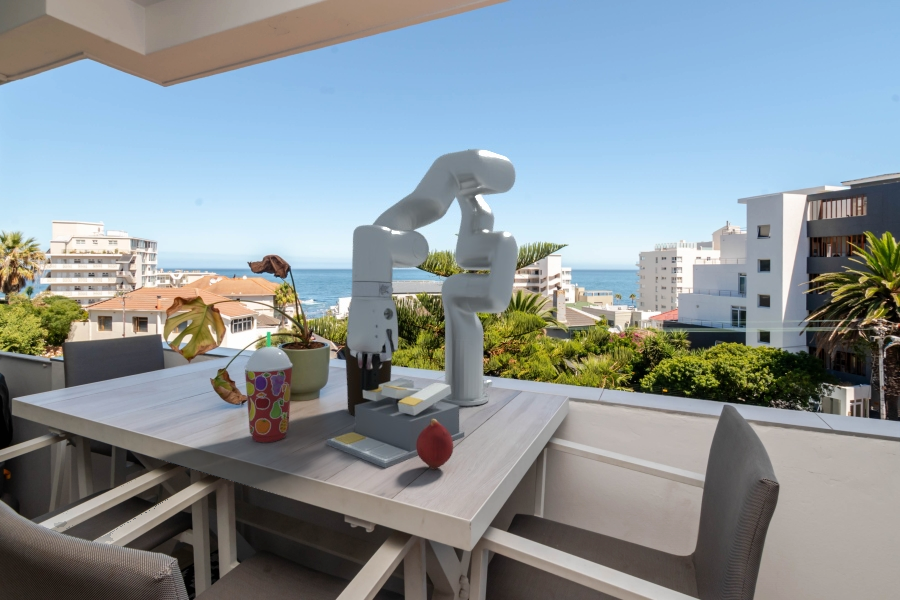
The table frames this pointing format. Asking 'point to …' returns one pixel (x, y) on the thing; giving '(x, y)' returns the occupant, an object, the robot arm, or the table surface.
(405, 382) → the rocker
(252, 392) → the smoothie
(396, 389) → the rocker
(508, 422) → the table surface
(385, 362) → the olive oil
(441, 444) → the onion
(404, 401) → the rocker
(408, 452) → the switch unit
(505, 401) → the table surface
